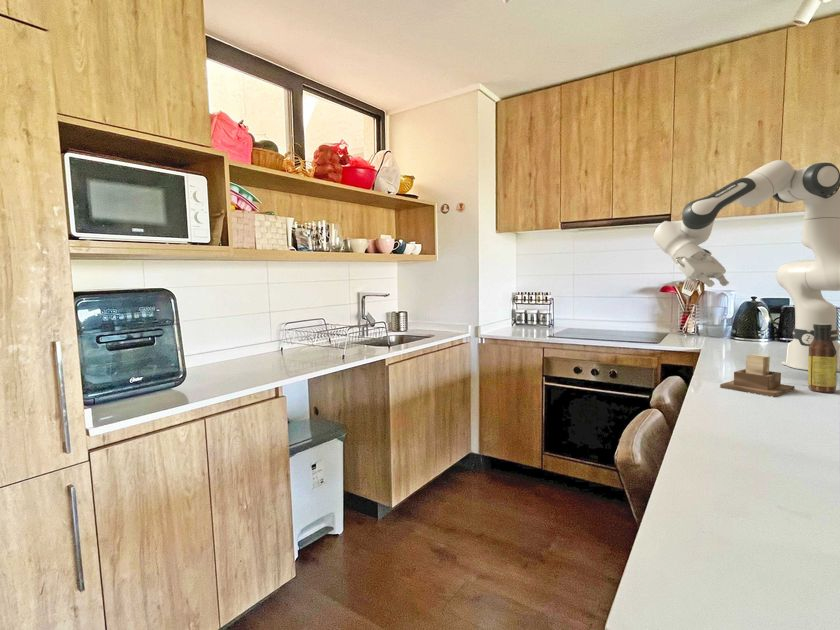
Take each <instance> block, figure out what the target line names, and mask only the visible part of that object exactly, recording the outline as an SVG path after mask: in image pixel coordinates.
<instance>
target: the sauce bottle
mask: <svg viewBox="0 0 840 630" xmlns="http://www.w3.org/2000/svg"><path fill="white" fill-rule="evenodd" d="M813 328H814V339H813V341H812V343H811V344H810V345H809V355H808V370H807V384H808V386H807V387H808V388H807V389H808V390H810V391H813V392H818V393H827V394H828V393H835V392H836V391H837V372H838V371H837V367H836V366H837V352H836V349H835V347H834V344H833V342H832V339H831V329H832V325H831V324H823V323H818V324H813Z"/></svg>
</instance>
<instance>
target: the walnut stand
mask: <svg viewBox="0 0 840 630" xmlns="http://www.w3.org/2000/svg"><path fill="white" fill-rule="evenodd" d="M781 380H782V373H781V372H777V371H771V370H769V375H766V376H763V375H757V374H750V373H746V368H743V369H740V370H739V369H738V370H736V371H733V380H731V381H727V382H724V383H720V384H719V388H721V389H725V390H731V389H732V391H738V392H744V393H748V392H750V393H749V394H754V393H756V394H755V395H760V394H762V395H761V396H765V395H768V396H767V397H771V396H773V397H772V398H775V397H778V396H780V394H781V395H783V393H784V394H785V392H786V393H789V392H791V391H790V390H792V391H794V390H795V389H796V388H795V385H790V384H782V383H781V382H782V381H781ZM793 389H794V390H793ZM788 391H789V392H788ZM777 395H778V396H777Z"/></svg>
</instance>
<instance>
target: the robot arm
mask: <svg viewBox="0 0 840 630" xmlns="http://www.w3.org/2000/svg"><path fill="white" fill-rule="evenodd" d="M772 198H773V199H774V200H775V201H776V202H778V203H783V204H791V203H792V204H793V203H795V202H803V204H804V206H805V207H804V208H805V212H804V215H803V216H804V217H803V225H802V231H801V240H800V241H801V243H802V245H804V247H806V248H808V249H809V250H811V251H812V252H813V254H814V259H804V260H795V261H790V262H786V263H783V264H782V265H780V267H778V269H777V271H776V275H775V276H776V277H775V278H776V281H777V283H778V285H779V286H780V287H781V288H783V289H784V290H785V291H786V292H787V293H788V295H789V296H790V298H791V301H792V302H793V307H794V317H795V318H794V319H795V321H794V323H795V324H794V328H793V331H792V338H793V339H792V340H791V341H790V342H788V344H787V348H786V349H787V350H786V359H785V360H782V361H781V363H780V364H781V365H785V366H787V367H790V368H792V369H797V370H804V371H808V355H809V345H810V344H811V343H812V341H813V339H814V328H813V324H818V323H823V324H831V325H832V329H831V339H832V342H833V344H834V347H835V349H836V352H837V366H836V367H837V371H836V372H840V343H839V341H838V340H839V335H840V330H839V329H837V316H838V311H837V308H836V306H835V305H834V304H833V303H831V302H829V301H827V300H826V298H824V297H823V294H822V291H825V292H826V291H827V292H828V291H829V292H832V291H834V292H837V291H839V292H840V169H839V168H838V167H837V166H836V165H835V164H834V163H831V162H817V163H813V164H811V165H807V166H806V165H805V166H804V167H801V168H798V169H794V168H793V166H792V164H790V162H788V161H786V160H783V159H778V160H777V159H776V160H773V161H770V162H767V163H766V164H764V165H762V166H760V167H757V168H756V169H755V170H753V171H751V172H750V173H748V174H747V175H745V176H744V177H741V178H739V179H736V180H734V181H733V182H730V183H728V184H726V185H725V186H722V187H721V188H719V189H717V190H716V191H715V192H712V193H711V194H709V195H706V196H704V197H700V198H698V199H694V200H692V201H690V202H688V203H687V204H686V205H685V206H684V208H683V210H682V215H681V220H677V221H676V220H675V221H669V220H664V221H661V223H660V224H659V225H658V226H657V227H656V228H655V230H654V232H653V234H652V235H653V240H654V242H655V243H656V245H657V246H658V247H659V248H660V249H661V251H663V252H664V253H665V254H668V256H670V258H671V260H672V261H673V262H674V263H675V264H676V265H677V268H678V269H679V270H680V271H681V272H682V273H683V274H684V276H685V277H687V279H689V280H698V281H700V282H701V283H703V284H704V285H706V286H707V287H709V288H711V287H714V286H715V284H716V283H715V281H714V280H712V279H716V280H717V281H718V282H719V284H720V285H721V286H722V287H726V286H728V285H729V284H730V282H729V281H728V279H726V276H725V273H726V272H727V270H726V268H725V266H723V265H722V263H720V262H719V260H717V258H715V256H712V255H713V254H712V252H711V251H710V250H708V249H704V248H703V247H701V246H699V245H700V244H703V243H705V242H707V240H709V237H710V236H711V234H712V230H713V226H714V222H715V220H716V218H717V216H718V215H719V213H720V212H721V211H722V210H723V209H725V208H727V207H728V206H731V204H733V203H737V204H738V205H740V206H742V207H746V208H754V207H757V206H759V205H760V204H763V203H764V202H766V201H768V200H769V199H772Z"/></svg>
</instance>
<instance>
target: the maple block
mask: <svg viewBox="0 0 840 630" xmlns="http://www.w3.org/2000/svg"><path fill="white" fill-rule="evenodd" d="M770 358H771V357H770V355H763V354H754V353H753V354H750V355H746V357H745V369H746V373H750V374H757V375H763V376H766V375H769V371H770V360H771V359H770Z"/></svg>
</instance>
